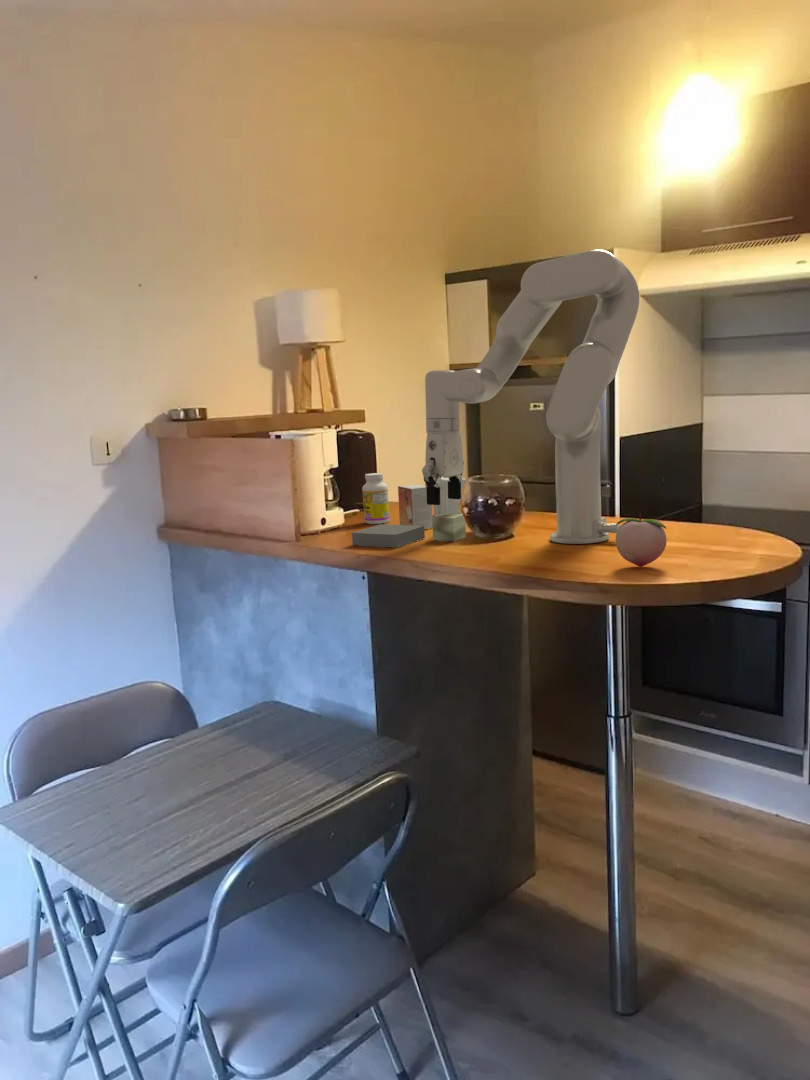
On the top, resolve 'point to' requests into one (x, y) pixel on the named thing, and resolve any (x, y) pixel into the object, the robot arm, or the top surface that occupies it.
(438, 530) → the cube
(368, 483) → the supplement bottle
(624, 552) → the decorative fruit
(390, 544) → the plinth
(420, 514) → the small box
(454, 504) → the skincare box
